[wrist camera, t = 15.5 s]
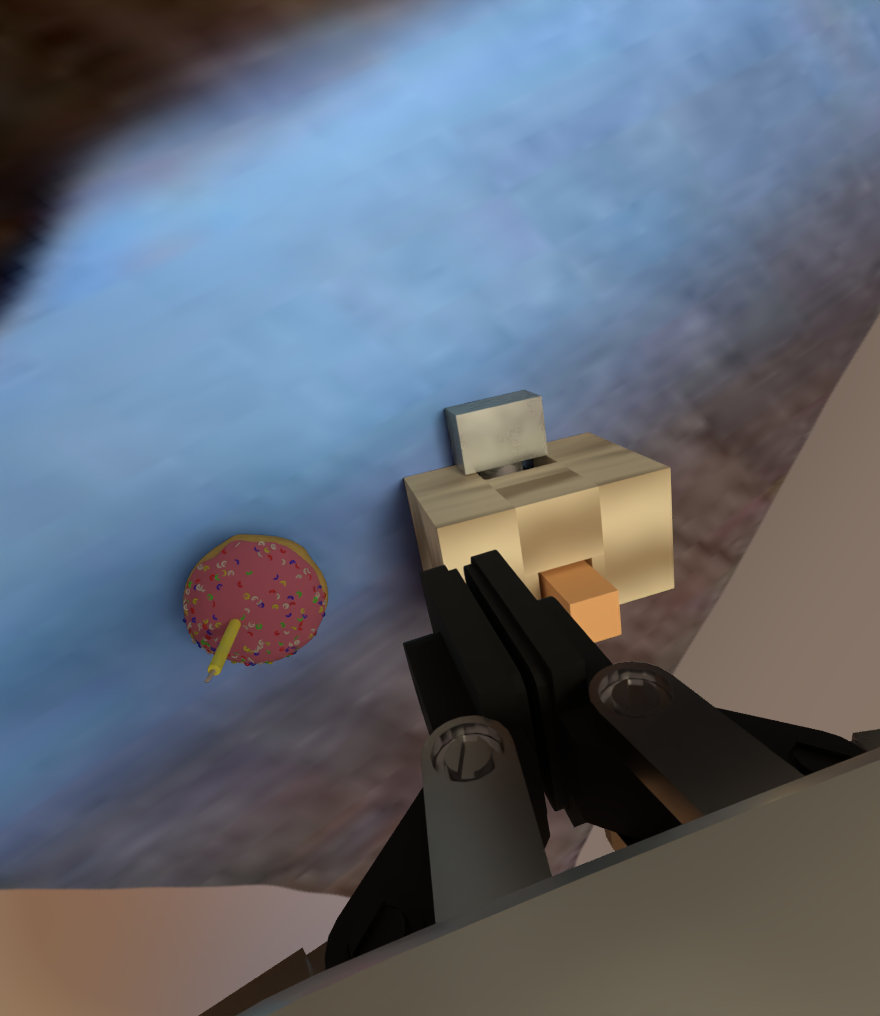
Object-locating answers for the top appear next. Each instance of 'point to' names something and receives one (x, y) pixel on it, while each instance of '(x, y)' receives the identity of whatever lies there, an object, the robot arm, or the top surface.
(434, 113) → the top surface
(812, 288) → the top surface
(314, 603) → the cupcake
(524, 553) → the block
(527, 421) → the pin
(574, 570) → the plunger
